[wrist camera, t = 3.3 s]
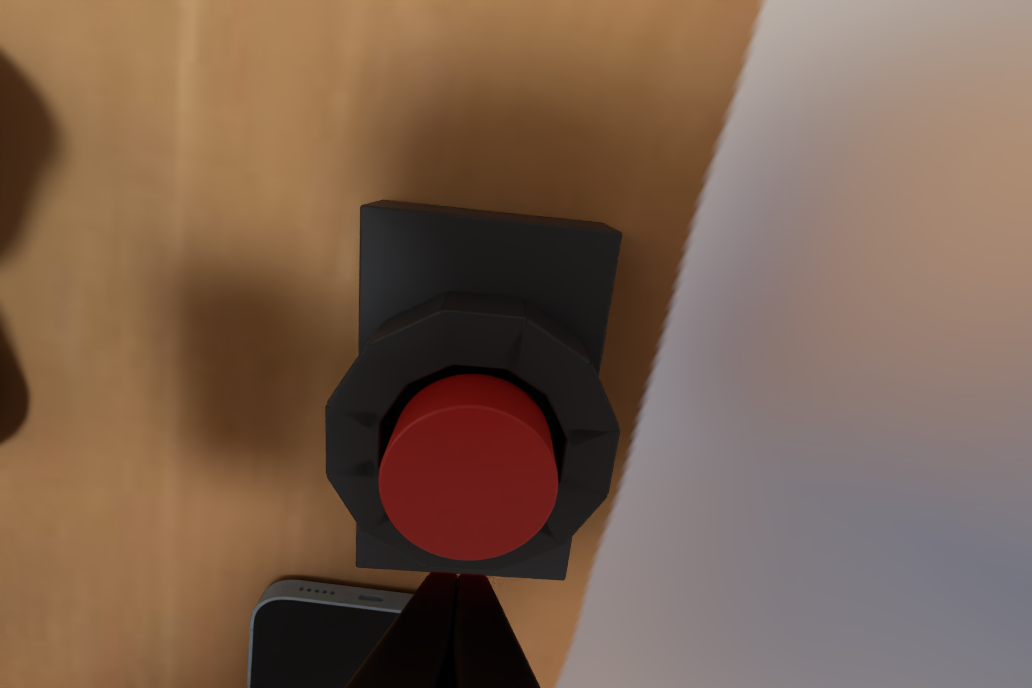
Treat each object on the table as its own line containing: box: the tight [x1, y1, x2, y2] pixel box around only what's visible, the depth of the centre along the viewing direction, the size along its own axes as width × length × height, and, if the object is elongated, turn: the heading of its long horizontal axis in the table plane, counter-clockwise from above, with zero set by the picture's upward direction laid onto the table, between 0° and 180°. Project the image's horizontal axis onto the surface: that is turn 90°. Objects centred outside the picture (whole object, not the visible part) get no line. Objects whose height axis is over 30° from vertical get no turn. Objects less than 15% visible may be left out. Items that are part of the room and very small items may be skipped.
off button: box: [378, 374, 558, 560], centre depth 11 cm, size 4×4×2 cm
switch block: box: [325, 200, 622, 580], centre depth 14 cm, size 10×6×4 cm, turn 174°
